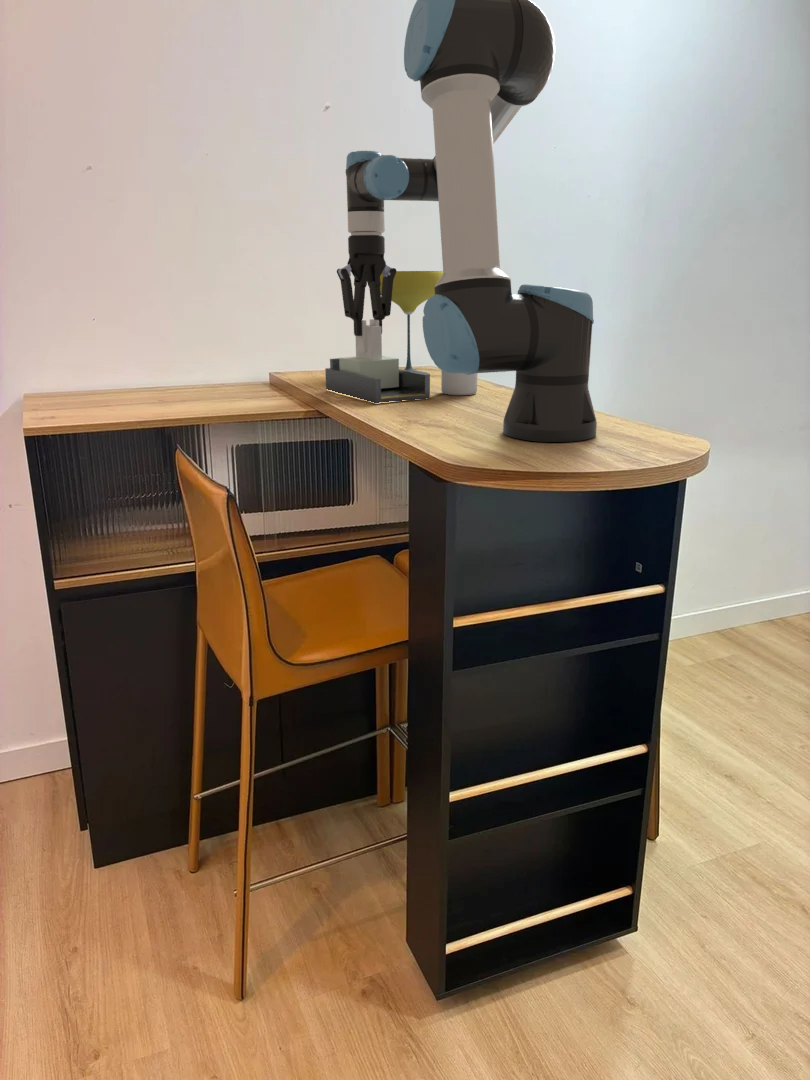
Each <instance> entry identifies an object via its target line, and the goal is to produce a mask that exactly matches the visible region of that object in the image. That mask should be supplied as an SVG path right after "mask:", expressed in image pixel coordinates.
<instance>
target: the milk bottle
mask: <svg viewBox="0 0 810 1080" xmlns="http://www.w3.org/2000/svg"><path fill="white" fill-rule="evenodd" d="M440 378H441V383H440V385H441V387H440V388H441V393H442V394H443V395H447V394H448V395H449V396H469V395H475V394H477V392H478V373H475V374H470V375H466V374H451V373H446V372H444V371H442V370H441V377H440Z"/></svg>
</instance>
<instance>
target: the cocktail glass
mask: <svg viewBox="0 0 810 1080" xmlns="http://www.w3.org/2000/svg"><path fill="white" fill-rule="evenodd" d="M442 275H443V270H439V271H438V270H400V271H397V270H396V274H395V277H394V279H393V289H392V301H391V302H392V303H394V304H396V305H397V306H398V307H399V308H400V309H401V311H402V312H403V313H404V315H406V317H407V318H406V319H407V320H406V321H407V326H406V327H407V331H406V332H407V335H406V336H407V339H406V341H407V342H406V343H407V345H406V346H407V349H406V350H407V354H406V355H407V356H406V365H405V367H404V368H403V370H408V371H413V372H419V373H424V374H429V375H430V376H431V373H430V372H429V373H428V372H426V371H419V370H416V369H414V368H413V367H412V361H411V315H413V313H414V312H415V311H416V309H418V307H419V306H420V305H421V304H423V303H425V302H427V300H428V299H429V298H430V297H432V296H433V295H435V289H434V286H435V284H436V283H437V282H438V281H439V279H440V278H441V277H442ZM382 281H383V272H382V274H381V276H380V282H381V285H380V292H381V293H382Z"/></svg>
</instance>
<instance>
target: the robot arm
mask: <svg viewBox="0 0 810 1080" xmlns="http://www.w3.org/2000/svg"><path fill="white" fill-rule="evenodd" d="M409 16H410V17H409V20H408V24H407V28H406V33H405V38H404V39H405V40H404V46H403V47H404V49H403V64H404V65H403V67H404V71H405V72H406V76H407V77H408V78H409V79H410V80H412V81H413V82H419V83H420V96H421V100H422V101H423V102H424V104H426V105H427V106H428V107H429V108H430V109H432V121H433V123H432V124H433V136H434V137H433V138H434V151H435V152H434V153H435V154H434V155H435V156H434V157H433V158H413V157H412V158H410V157H408V158H407V157H406V158H405V157H399V156H396V155H393V154H386V155H385V154H382V153H381V152H380V151H375V150H356V151H350V152H349V153H347V155H346V165H345V166H346V167H345V176H346V201H347V203H346V205H347V206H346V207H347V233H349V234H350V235H349V236H348V237H347V238H348V239H347V246H348V249H347V250H348V256H349V258H348V261H347V262H346V263H347V265H345V266H344V267H342V268H337V270H336V273H337V277H338V278H339V280H340V287H341V296H342V303H343V310H344V312H343V313H344V316H345V317H346V318H350V319H351V320H353V334H354V335H353V336H355V337H356V336H357V345H358V351H359V352H367V338H366V325H367V320H364V309H365V308H364V307H365V299H366V298H365V296H366V287H367V286H368V289H369V296H370V303H371V306H370V307H371V312H372V319H369V325H373V326H381V336H382V334H383V321H384V320H385V318H386V317H390V315H391V309H392V302H393V301H392V289H393V279H394V277H395V274H396V271H397V269H396V268H395V267H391V266H389V265H387V263H386V262H387V261H386V260H385V254H386V250H385V249H386V248H385V247H386V245H385V241H386V240H385V239H386V238H385V237H384V235H383V234H384V233H385V231H386V230H385V227H386V226H385V201H411V202H412V201H413V202H414V201H415V202H416V201H417V202H418V201H421V202H422V201H423V202H438V214H439V227H440V228H439V229H440V242H441V255H442V257H441V258H442V271H443V275H442V277H441V278H440V279H439V281H438V282H437V283H436V284H435V286H434V289H435V295H433V296H432V297H430V298H429V299H428V300H426V301H425V302H424V303H425V304H424V306H423V316H422V332H423V337H424V342H425V346H426V350H427V352H428V354H429V356H430V358H431V360H432V362H433V363H434V364H435V366H436V367H437V368H438V369H439V370H441V372H442V371H444V372H446V373H451V374H466V375H470V374H475V373H477V374H483V373H484V374H485V373H487V374H488V373H501V372H502V373H503V372H504V373H505V372H515V384H514V385H515V386H514V388H513V392H512V395H511V398H510V400H509V403H508V406H507V408H506V412H505V414H504V417H503V423H502V424H503V425H502V427H503V428H502V433H503V434H504V435H505V436H507V437H509V438H513V439H517V440H522V441H523V440H524V441H529V442H530V441H531V442H544V443H545V442H546V443H567V442H578V441H580V442H581V441H585V440H590V439H592V438H594V437H596V435H597V426H598V425H597V422H598V421H597V417H596V413H595V410H594V406H593V402H592V398H591V394H590V391H589V390H590V388H589V379H590V378H589V376H590V362H591V350H592V349H591V347H592V335H593V334H592V333H593V324H594V323H595V321H594V320H595V319H594V303H593V299H592V296H591V295H590V294H589V293H588V292H586V291H582V290H578V289H572V288H563V287H557V286H556V287H555V286H546V285H540V284H539V285H536V284H521V285H520V286H519V288H518V290H517V294H515V293H514V294H513V293H512V279H511V277H510V276H508V275H507V274H506V273H505V272H504V271H503V270H502V269H501V266H500V265H501V264H500V263H501V262H500V249H499V247H500V246H499V245H500V244H499V231H498V230H499V229H498V228H499V227H498V214H497V211H498V210H497V198H496V197H497V196H496V178H495V174H496V173H495V159H494V144H495V142H496V141H497V140H498V139H499V137H501V135H502V134H503V132H504V131H505V130H506V128H507V127H508V126H509V124H510V123H511V121H512V120H513V118H514V117H515V116H516V115H517V114H518V112H519V111H520V109H521V108H522V107H526V106H528V105H530V104H532V103H533V102H534V101H535V100H536V99H537V97H538V96H539V95H540V94H541V92H542V91H543V90H544V88H545V87H546V84H547V83H548V81H549V79H550V77H551V73H552V71H553V68H554V67H553V66H554V63H555V57H556V56H555V55H556V45H555V42H556V41H555V35H554V31H553V29H552V26H551V25H552V24H551V22H550V21H549V19H548V17H547V16H546V14H545V12H544V11H543V10H542V9H541V8H540V7H539V6H538V5H537V4H536V3H535V2H533V1H531V0H416V1H415V3H414V6H413V8H412V11H411V14H410V15H409ZM382 272H383V281H382V293H381V292H380V285H381V282H380V276H381V274H382ZM351 276H353V284H352V279H351ZM352 285H353V286H354V291H353V286H352Z"/></svg>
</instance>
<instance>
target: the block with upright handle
mask: <svg viewBox="0 0 810 1080" xmlns="http://www.w3.org/2000/svg"><path fill="white" fill-rule="evenodd" d="M366 338H367V352H359V351H358V345H357V336H355V356H348V357H346V356H345V357H338V358H339V366H340V370H342V371H346V372H351V373H355V374H360V375H365V376H369V377H374V378H379V379H381V389H383V388H393V387H399V369H400V361H399V360H400V359H399V358H396V357H391V356H384V355H382V354H383V353H382V350H383V345H382V344H383V343H382V341H383V340H382V335H381V326H373V325H370V324H366Z"/></svg>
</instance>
